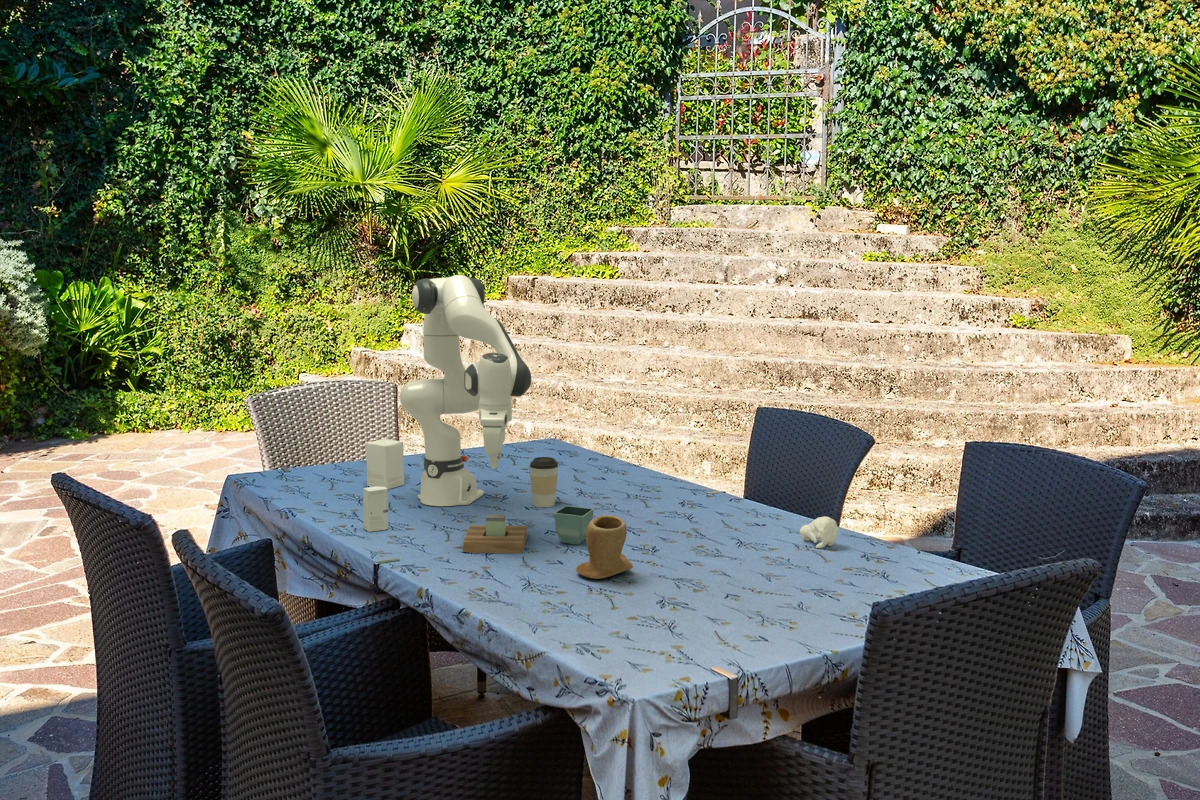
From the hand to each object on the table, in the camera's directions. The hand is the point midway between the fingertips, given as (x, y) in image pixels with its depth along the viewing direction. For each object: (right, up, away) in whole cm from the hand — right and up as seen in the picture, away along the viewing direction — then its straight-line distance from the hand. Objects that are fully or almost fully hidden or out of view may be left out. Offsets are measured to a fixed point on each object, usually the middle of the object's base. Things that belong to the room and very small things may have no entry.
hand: (495, 463), depth 296 cm
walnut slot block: (0, -22, +4) cm, 23 cm away
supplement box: (-43, -11, +67) cm, 80 cm away
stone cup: (+30, -27, -20) cm, 45 cm away
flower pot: (+21, -22, +7) cm, 32 cm away
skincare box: (-36, -20, +17) cm, 44 cm away
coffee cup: (+11, -16, +46) cm, 49 cm away
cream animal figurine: (+89, -23, +7) cm, 92 cm away
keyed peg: (0, -22, +4) cm, 23 cm away
